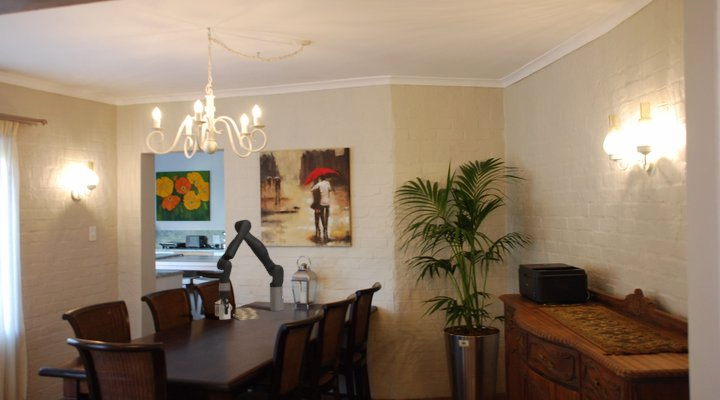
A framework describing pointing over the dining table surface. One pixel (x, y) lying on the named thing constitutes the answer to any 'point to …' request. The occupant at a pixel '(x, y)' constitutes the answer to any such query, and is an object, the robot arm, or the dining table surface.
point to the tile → (221, 312)
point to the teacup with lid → (218, 307)
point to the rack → (245, 314)
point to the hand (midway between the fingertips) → (224, 313)
